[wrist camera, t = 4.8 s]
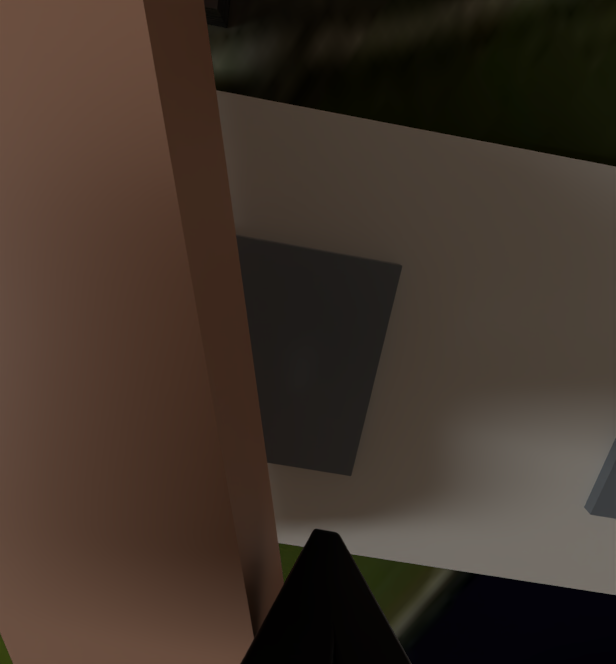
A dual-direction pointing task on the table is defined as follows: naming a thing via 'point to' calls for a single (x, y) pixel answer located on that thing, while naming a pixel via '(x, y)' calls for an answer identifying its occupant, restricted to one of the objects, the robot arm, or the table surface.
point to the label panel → (430, 341)
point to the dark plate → (217, 12)
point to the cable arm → (124, 347)
